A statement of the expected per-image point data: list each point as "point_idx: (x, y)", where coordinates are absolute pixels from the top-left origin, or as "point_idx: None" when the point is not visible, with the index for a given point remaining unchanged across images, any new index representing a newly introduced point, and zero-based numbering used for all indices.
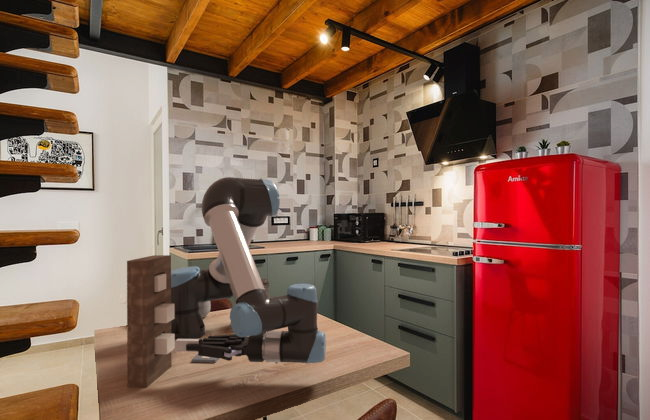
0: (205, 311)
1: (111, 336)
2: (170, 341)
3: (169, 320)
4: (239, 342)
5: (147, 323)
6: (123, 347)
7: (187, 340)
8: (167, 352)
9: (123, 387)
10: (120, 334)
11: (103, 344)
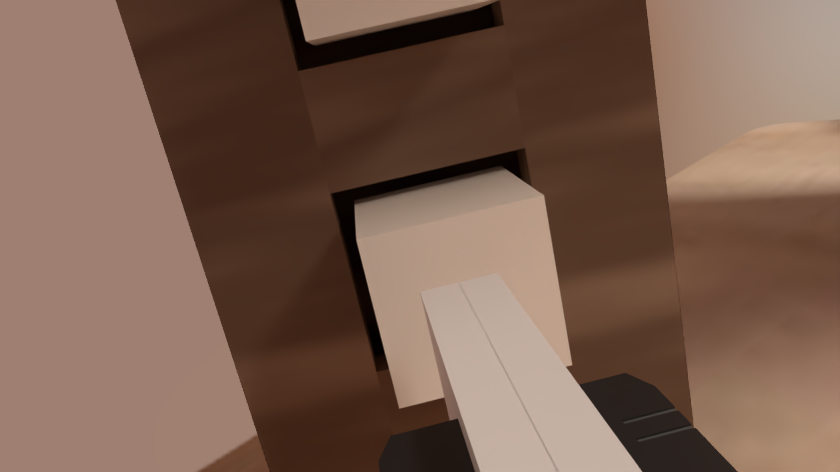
0: None
1: (753, 153)
2: (456, 278)
3: (373, 10)
4: None
5: (143, 34)
6: (710, 211)
7: (466, 364)
8: (407, 389)
9: None
10: (793, 150)
11: (680, 180)
